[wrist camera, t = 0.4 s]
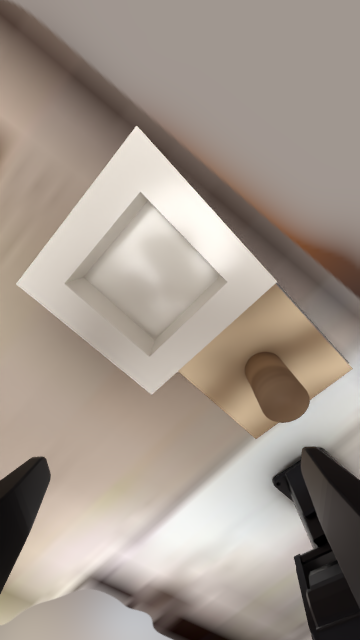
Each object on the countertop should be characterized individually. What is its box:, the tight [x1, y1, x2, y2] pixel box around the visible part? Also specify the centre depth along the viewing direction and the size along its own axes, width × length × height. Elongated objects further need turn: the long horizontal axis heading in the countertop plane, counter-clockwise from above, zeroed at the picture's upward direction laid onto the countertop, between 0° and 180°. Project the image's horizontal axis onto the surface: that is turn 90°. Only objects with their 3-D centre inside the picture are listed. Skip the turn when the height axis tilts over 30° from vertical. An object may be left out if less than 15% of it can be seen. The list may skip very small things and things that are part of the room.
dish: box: [16, 126, 277, 395], centre depth 17 cm, size 12×12×4 cm
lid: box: [179, 283, 352, 439], centre depth 19 cm, size 10×10×6 cm
